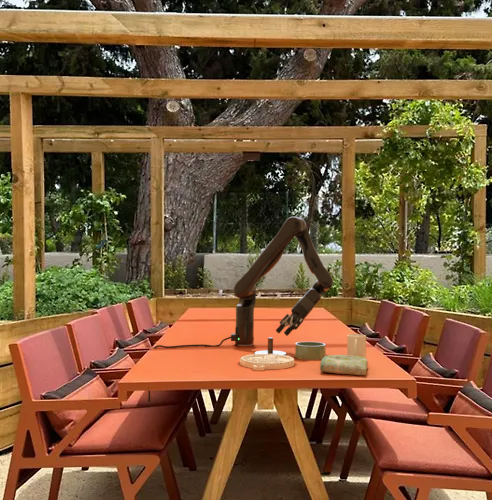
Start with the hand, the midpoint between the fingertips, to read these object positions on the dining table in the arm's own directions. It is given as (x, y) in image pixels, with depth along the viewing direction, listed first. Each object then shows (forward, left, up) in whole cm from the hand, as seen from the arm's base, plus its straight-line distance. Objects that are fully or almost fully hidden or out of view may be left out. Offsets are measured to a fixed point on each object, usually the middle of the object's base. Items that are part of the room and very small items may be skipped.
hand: (281, 333), depth 281 cm
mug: (+32, -19, -10) cm, 39 cm away
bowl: (+13, -8, -10) cm, 18 cm away
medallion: (-7, -25, -10) cm, 28 cm away
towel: (+25, -35, -10) cm, 44 cm away
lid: (-5, -2, -9) cm, 11 cm away
